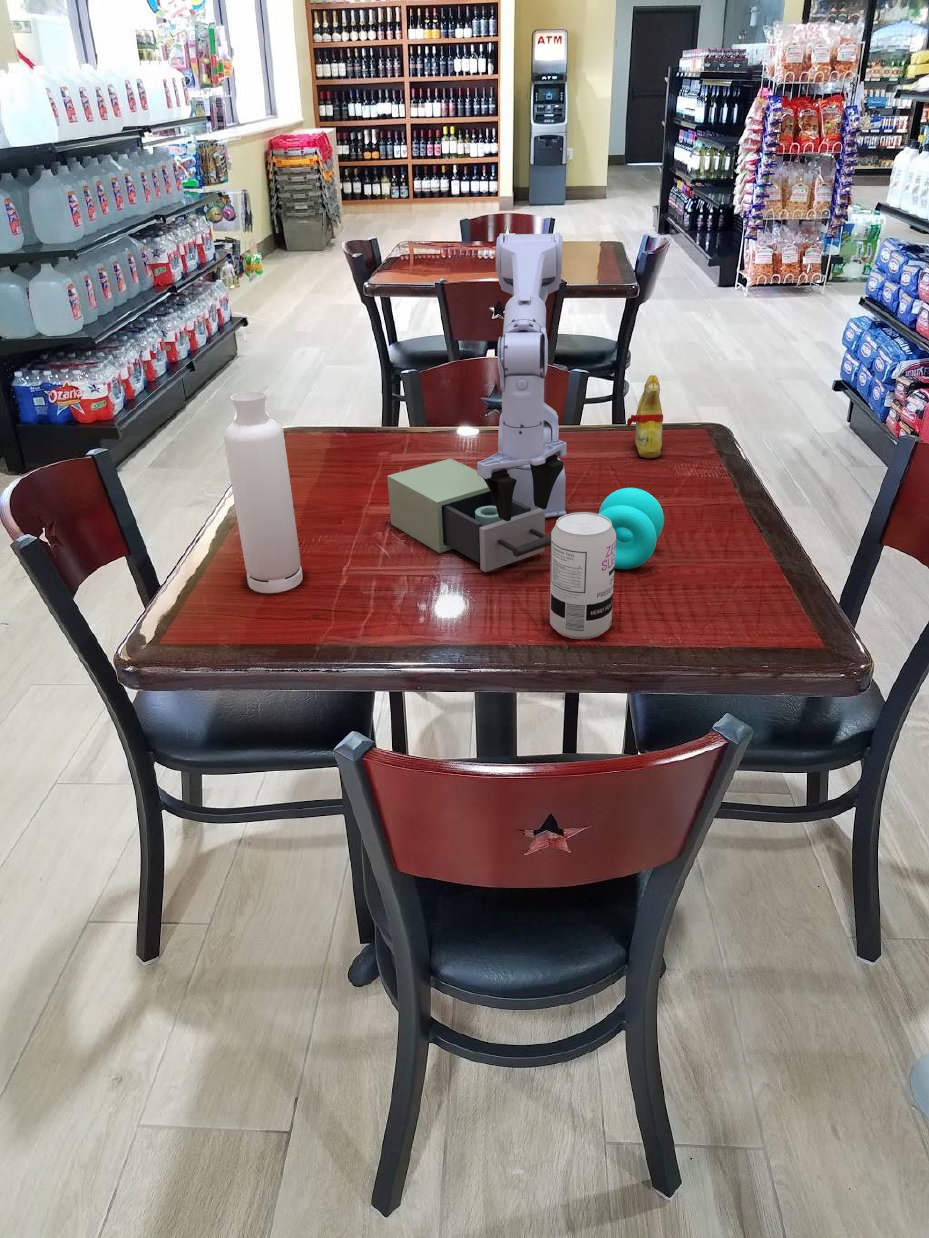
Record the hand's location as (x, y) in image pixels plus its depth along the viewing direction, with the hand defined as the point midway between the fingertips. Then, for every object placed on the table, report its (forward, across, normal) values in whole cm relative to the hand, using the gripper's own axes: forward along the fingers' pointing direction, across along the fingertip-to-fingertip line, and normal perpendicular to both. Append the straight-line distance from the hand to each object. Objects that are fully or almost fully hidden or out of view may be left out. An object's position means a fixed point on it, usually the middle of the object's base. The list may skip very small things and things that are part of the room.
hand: (522, 513), depth 135 cm
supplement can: (+10, -4, -18) cm, 20 cm away
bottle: (+10, -31, +21) cm, 38 cm away
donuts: (+10, +15, -6) cm, 19 cm away
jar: (+7, 0, +8) cm, 11 cm away
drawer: (+8, 0, +6) cm, 10 cm away
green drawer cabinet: (+9, 0, +20) cm, 22 cm away
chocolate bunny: (+10, +51, +26) cm, 58 cm away
